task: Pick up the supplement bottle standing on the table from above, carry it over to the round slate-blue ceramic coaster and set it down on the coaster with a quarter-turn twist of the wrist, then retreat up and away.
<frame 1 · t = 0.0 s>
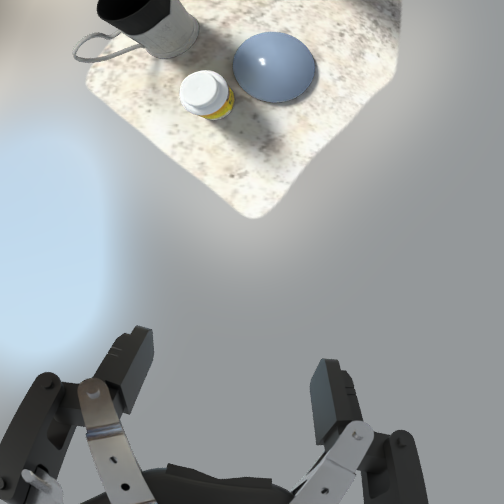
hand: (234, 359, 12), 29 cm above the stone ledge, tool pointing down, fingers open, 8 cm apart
supplement bottle: (215, 101, 33), on the stone ledge
tall grey black mug: (156, 44, 29), on the stone ledge
coaster: (273, 66, 30), on the stone ledge
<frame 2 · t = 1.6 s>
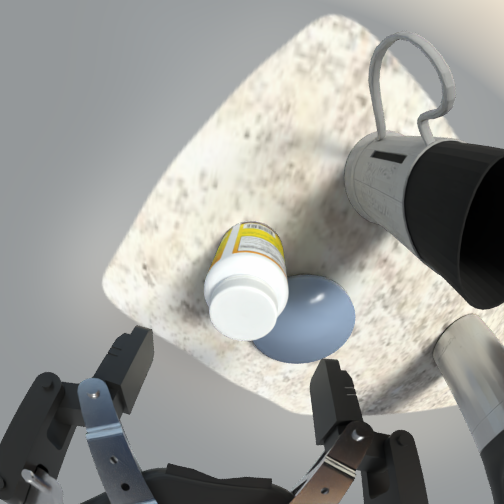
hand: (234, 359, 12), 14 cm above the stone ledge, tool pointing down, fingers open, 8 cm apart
supplement bottle: (252, 247, 25), on the stone ledge
tall grey black mug: (375, 151, 21), on the stone ledge
coaster: (302, 320, 27), on the stone ledge
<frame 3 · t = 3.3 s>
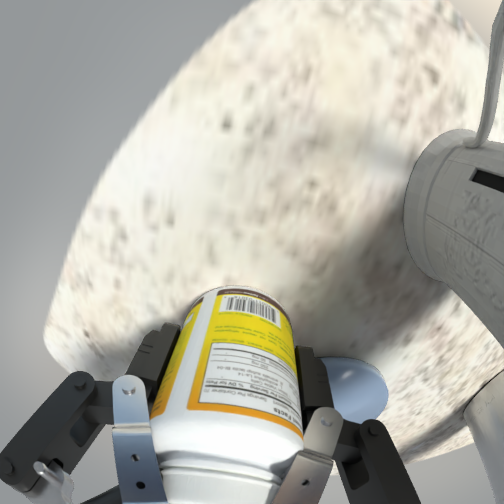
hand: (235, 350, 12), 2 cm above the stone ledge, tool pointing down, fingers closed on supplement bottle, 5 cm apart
supplement bottle: (240, 322, 14), on the stone ledge, touching gripper
tall grey black mug: (451, 163, 10), on the stone ledge
coaster: (313, 406, 17), on the stone ledge
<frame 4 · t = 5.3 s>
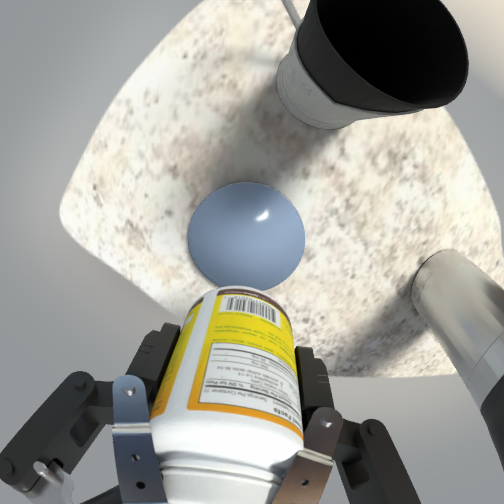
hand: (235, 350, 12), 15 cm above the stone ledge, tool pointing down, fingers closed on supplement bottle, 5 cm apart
supplement bottle: (240, 322, 14), point 13 cm above the stone ledge, touching gripper
tall grey black mug: (308, 60, 19), on the stone ledge
coaster: (246, 238, 26), on the stone ledge
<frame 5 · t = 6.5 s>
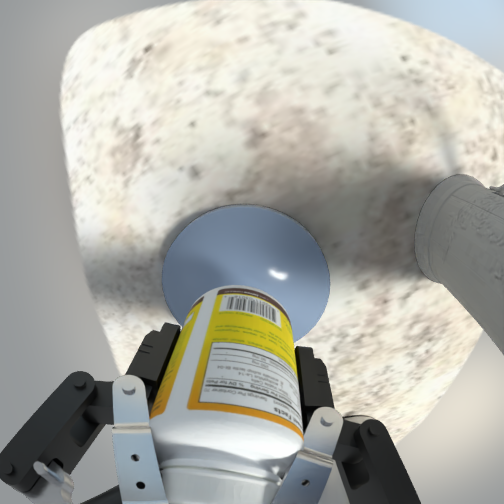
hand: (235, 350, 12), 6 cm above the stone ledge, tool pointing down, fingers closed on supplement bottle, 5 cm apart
supplement bottle: (240, 322, 14), point 4 cm above the stone ledge, touching gripper
tall grey black mug: (469, 199, 15), on the stone ledge
coaster: (245, 285, 18), on the stone ledge
when the fingers open (4 cm above the stone ledge, at t = 7.4 s): supplement bottle stays where it is, resting on coaster.
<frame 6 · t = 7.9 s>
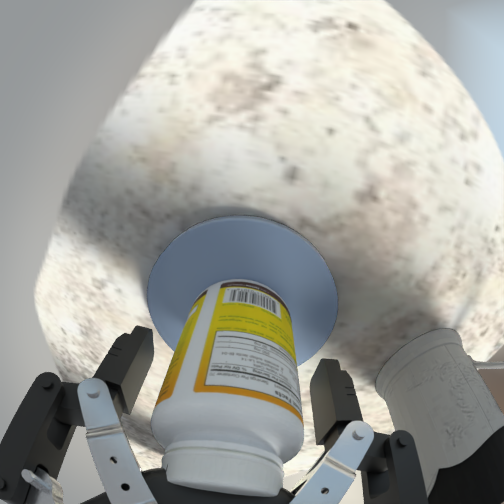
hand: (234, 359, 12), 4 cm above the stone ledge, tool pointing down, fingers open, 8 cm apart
supplement bottle: (241, 315, 15), point 1 cm above the stone ledge, touching coaster
tall grey black mug: (446, 350, 18), on the stone ledge
coaster: (241, 306, 16), on the stone ledge
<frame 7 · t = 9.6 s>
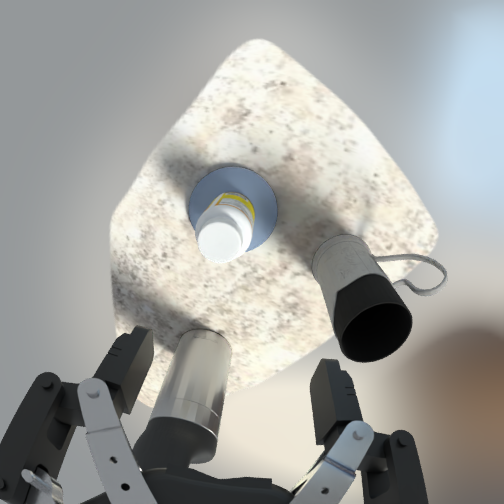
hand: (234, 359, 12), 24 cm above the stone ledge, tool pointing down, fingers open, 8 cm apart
supplement bottle: (233, 212, 33), point 1 cm above the stone ledge, touching coaster
tall grey black mug: (359, 254, 36), on the stone ledge
coaster: (233, 209, 34), on the stone ledge
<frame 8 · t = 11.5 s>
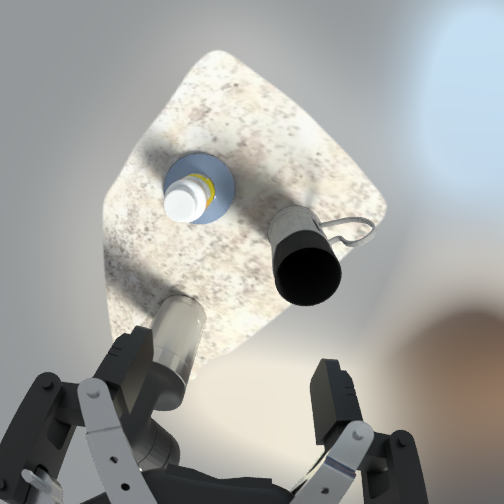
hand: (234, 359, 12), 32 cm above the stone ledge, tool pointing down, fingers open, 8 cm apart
supplement bottle: (198, 189, 40), point 1 cm above the stone ledge, touching coaster
tall grey black mug: (309, 223, 42), on the stone ledge
coaster: (199, 188, 41), on the stone ledge
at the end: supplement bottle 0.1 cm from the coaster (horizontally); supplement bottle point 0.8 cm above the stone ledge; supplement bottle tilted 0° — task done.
